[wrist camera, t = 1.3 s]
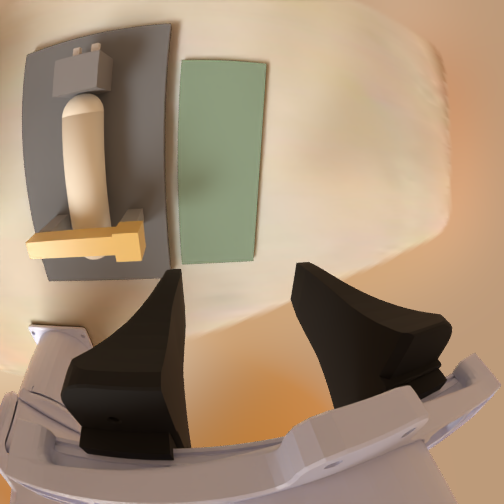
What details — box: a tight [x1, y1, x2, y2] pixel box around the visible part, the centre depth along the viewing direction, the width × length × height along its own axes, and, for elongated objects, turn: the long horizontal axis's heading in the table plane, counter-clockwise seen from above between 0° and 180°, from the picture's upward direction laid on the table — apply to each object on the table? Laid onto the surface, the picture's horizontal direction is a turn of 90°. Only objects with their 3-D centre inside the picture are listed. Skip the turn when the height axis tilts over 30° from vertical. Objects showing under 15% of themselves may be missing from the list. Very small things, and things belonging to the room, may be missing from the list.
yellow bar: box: [26, 221, 146, 262], centre depth 15 cm, size 2×8×2 cm, turn 86°
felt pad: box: [178, 60, 266, 264], centre depth 19 cm, size 16×6×1 cm, turn 176°
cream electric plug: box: [52, 43, 114, 260], centre depth 15 cm, size 16×3×3 cm, turn 176°
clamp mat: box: [22, 24, 171, 281], centre depth 15 cm, size 20×12×4 cm, turn 176°
